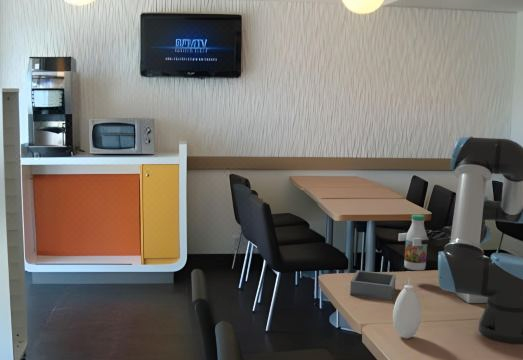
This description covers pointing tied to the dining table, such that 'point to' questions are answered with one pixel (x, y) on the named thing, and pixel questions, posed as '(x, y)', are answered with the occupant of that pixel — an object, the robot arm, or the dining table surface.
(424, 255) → the milk bottle
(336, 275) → the dining table surface
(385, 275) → the box
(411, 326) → the white squeeze bottle
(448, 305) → the dining table surface
